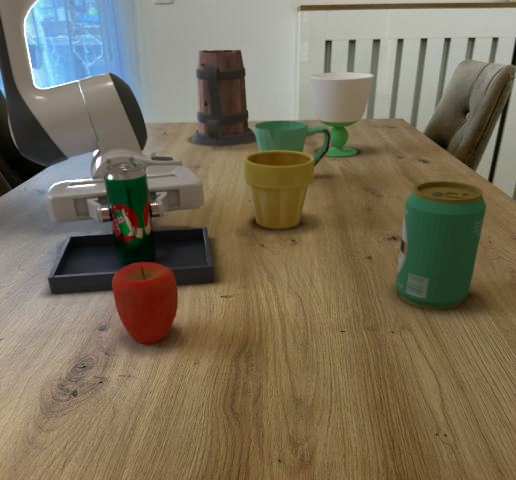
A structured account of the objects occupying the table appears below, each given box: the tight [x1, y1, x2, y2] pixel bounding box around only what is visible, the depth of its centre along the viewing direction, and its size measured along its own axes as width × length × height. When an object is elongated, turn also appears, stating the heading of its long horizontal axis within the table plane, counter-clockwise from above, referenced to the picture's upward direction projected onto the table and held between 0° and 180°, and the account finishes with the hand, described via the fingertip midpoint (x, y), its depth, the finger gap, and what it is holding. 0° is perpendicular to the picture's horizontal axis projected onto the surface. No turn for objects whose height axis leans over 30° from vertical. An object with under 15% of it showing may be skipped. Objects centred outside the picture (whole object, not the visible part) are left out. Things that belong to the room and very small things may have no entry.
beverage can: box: [395, 180, 487, 310], centre depth 60 cm, size 8×8×12 cm
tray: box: [47, 226, 215, 295], centre depth 71 cm, size 19×14×2 cm
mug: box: [253, 120, 331, 168], centre depth 104 cm, size 15×10×10 cm
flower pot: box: [243, 150, 315, 230], centre depth 83 cm, size 10×10×10 cm
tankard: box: [190, 49, 257, 147], centre depth 133 cm, size 24×17×20 cm
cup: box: [309, 71, 375, 158], centre depth 121 cm, size 14×14×16 cm
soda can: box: [104, 162, 156, 266], centre depth 68 cm, size 5×5×12 cm
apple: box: [112, 262, 179, 345], centre depth 54 cm, size 6×6×8 cm
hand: (131, 213), depth 67 cm, fingers closed on soda can, 5 cm apart
